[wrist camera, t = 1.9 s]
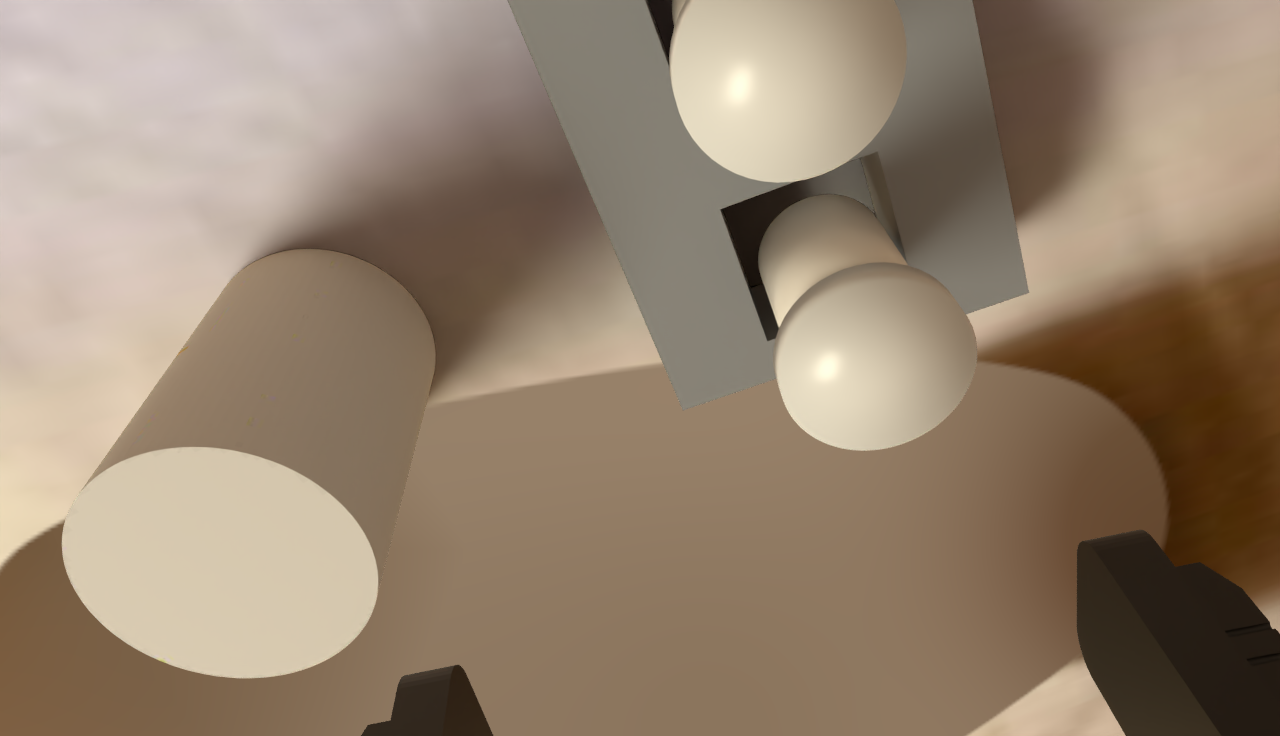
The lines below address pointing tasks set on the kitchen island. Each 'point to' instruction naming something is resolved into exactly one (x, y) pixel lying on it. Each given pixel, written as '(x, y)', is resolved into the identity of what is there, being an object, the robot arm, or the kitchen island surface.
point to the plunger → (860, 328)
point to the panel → (699, 187)
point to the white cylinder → (261, 473)
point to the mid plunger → (785, 80)
